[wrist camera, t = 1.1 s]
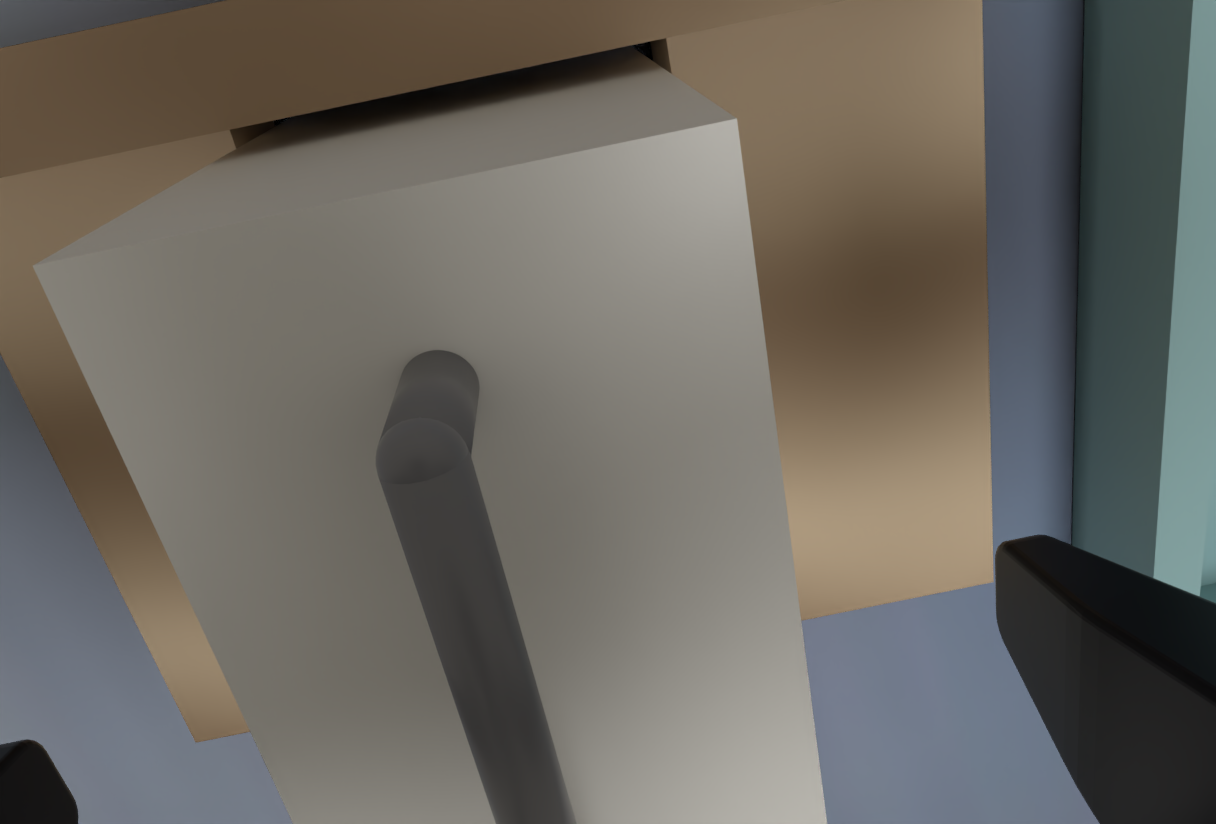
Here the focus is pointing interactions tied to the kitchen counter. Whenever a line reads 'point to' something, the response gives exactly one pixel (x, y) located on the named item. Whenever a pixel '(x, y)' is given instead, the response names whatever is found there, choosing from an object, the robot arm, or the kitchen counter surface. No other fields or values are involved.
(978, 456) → the bay
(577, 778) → the white handled drawer
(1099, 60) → the tray
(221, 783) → the kitchen counter surface
